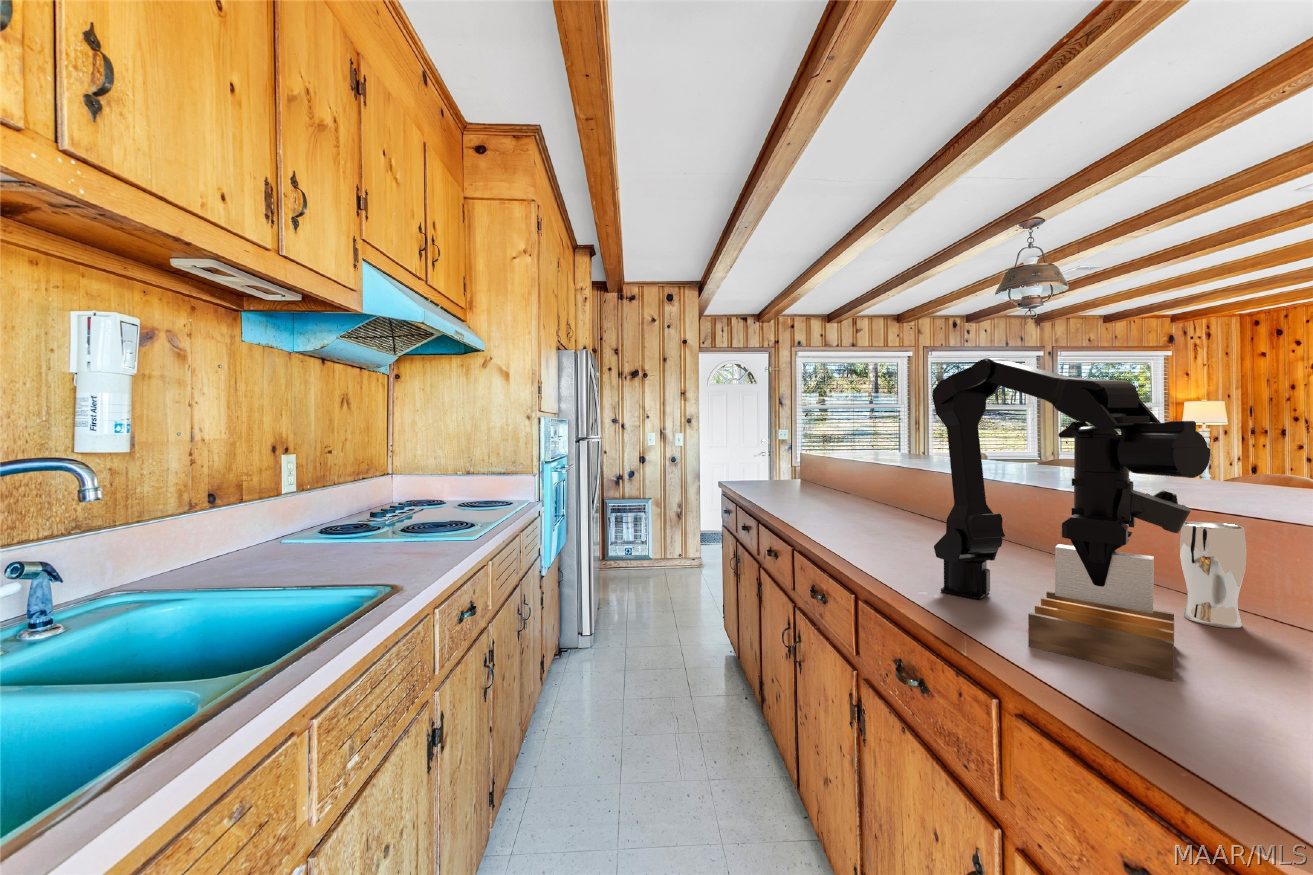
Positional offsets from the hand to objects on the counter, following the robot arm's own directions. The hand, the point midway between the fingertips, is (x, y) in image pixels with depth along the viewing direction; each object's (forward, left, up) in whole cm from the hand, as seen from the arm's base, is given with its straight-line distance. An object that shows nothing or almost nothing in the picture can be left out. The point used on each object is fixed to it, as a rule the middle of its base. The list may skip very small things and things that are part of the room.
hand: (1100, 583), depth 70 cm
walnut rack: (0, 0, -9) cm, 9 cm away
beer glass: (+11, +24, -9) cm, 28 cm away
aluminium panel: (0, 0, -3) cm, 3 cm away
